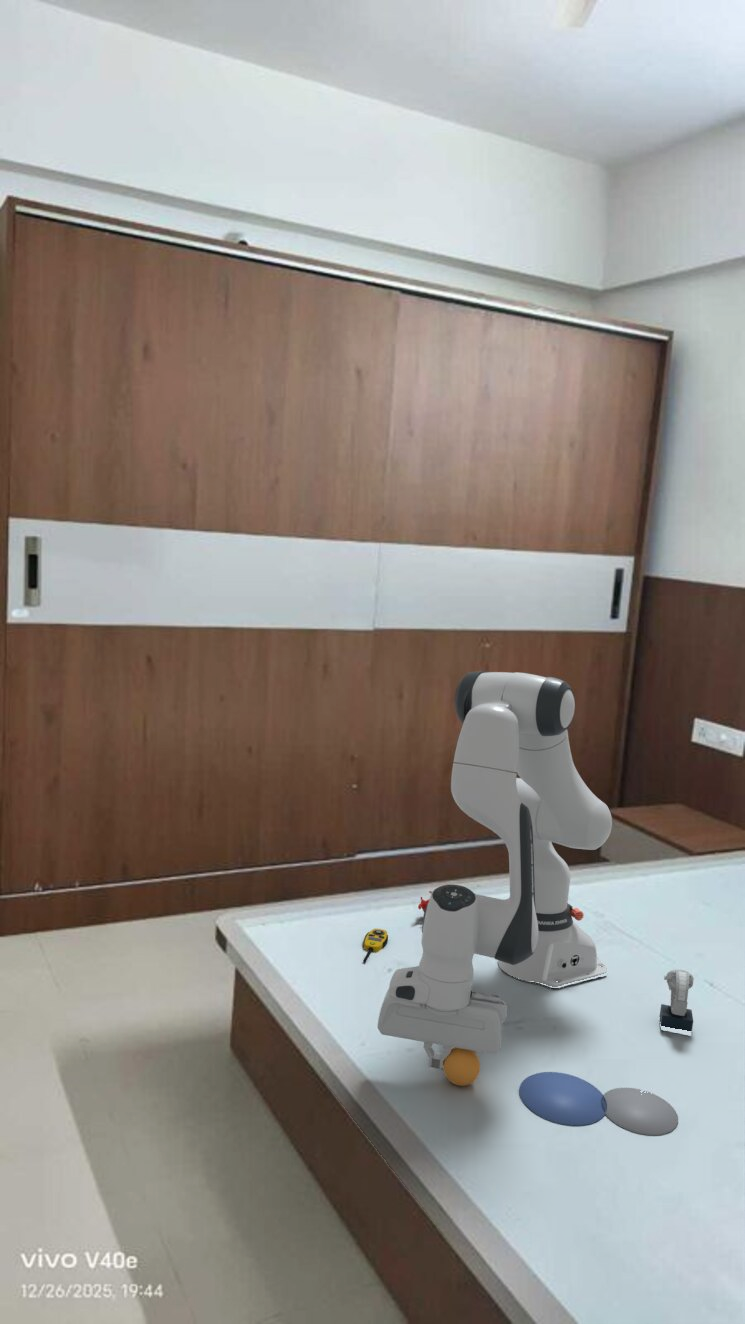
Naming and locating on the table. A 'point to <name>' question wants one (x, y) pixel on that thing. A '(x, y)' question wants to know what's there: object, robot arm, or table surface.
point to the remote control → (375, 941)
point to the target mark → (562, 1098)
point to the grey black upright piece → (678, 1001)
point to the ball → (461, 1066)
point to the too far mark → (639, 1111)
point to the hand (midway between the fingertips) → (435, 1066)
